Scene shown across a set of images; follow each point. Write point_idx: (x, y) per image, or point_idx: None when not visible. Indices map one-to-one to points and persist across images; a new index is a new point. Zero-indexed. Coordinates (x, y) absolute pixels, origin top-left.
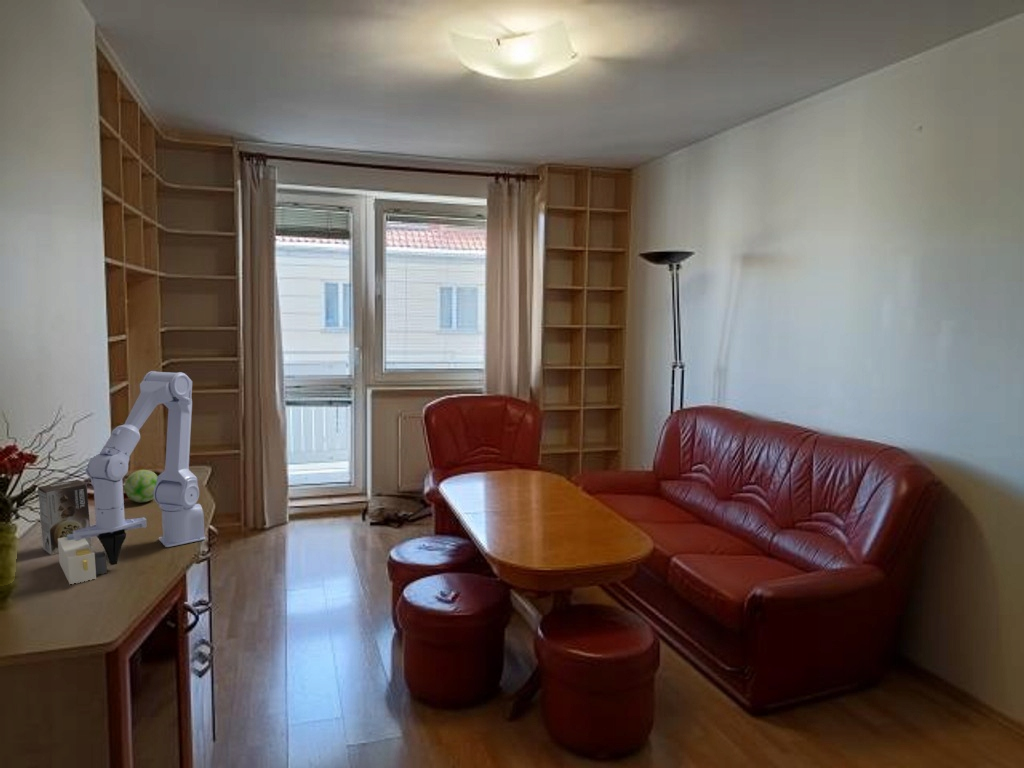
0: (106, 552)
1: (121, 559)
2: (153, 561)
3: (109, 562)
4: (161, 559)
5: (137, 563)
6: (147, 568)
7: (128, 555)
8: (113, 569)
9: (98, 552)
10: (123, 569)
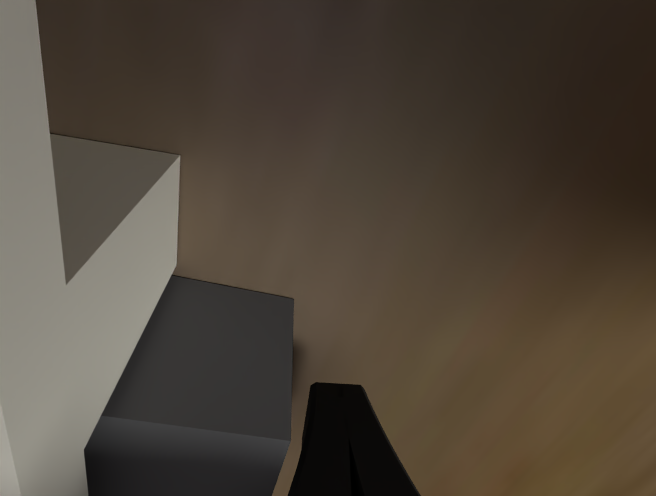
0: (296, 480)
1: (497, 190)
2: (594, 406)
3: (308, 406)
4: (649, 406)
5: (508, 372)
6: (485, 480)
7: (613, 121)
8: (328, 369)
9: (216, 440)
10: (378, 411)
